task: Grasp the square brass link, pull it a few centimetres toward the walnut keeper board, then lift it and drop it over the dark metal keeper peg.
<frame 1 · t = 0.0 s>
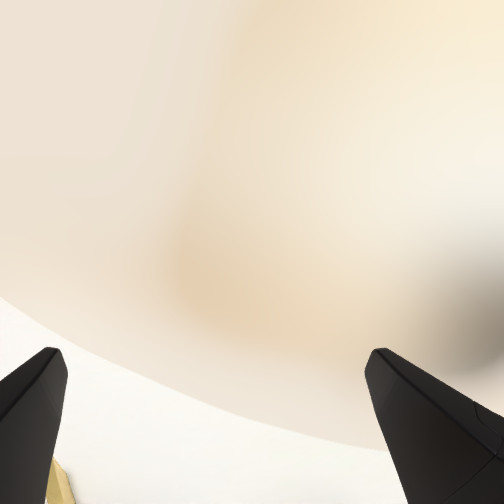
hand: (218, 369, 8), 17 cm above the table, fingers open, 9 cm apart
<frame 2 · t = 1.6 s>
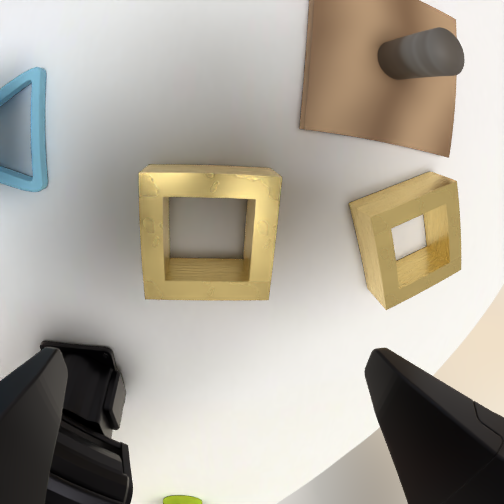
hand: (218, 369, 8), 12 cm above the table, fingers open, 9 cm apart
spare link: (400, 230, 21), on the table
link: (207, 223, 19), on the table
keeper: (386, 62, 16), on the table
soap dispenser: (182, 501, 35), on the table
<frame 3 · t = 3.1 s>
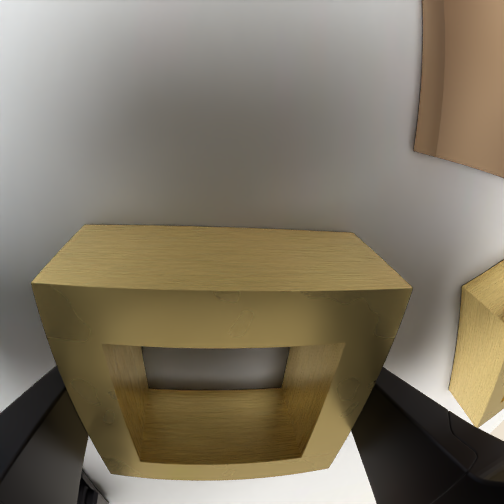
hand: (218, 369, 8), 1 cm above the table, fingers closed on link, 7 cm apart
link: (216, 340, 9), on the table, touching gripper
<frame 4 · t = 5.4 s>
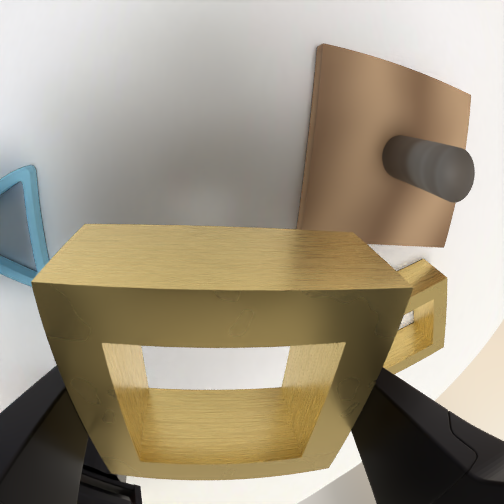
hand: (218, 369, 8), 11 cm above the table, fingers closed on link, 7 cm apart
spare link: (388, 313, 22), on the table
link: (216, 339, 9), point 9 cm above the table, touching gripper
keeper: (391, 154, 17), on the table
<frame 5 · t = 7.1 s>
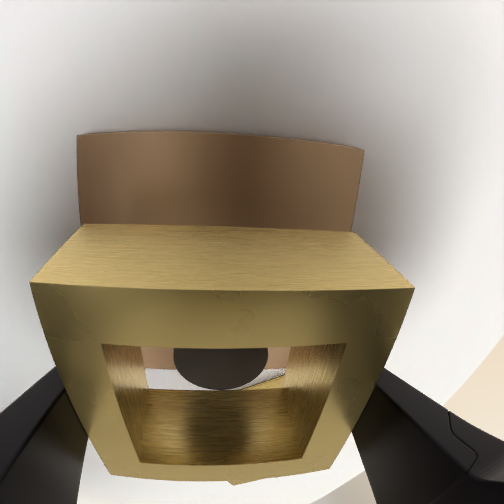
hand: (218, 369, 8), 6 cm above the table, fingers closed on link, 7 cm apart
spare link: (257, 419, 19), on the table
link: (216, 340, 9), point 5 cm above the table, touching gripper
keeper: (214, 262, 14), on the table
when the fingers open (4 cm above the table, at t = 8.1 s): link drops 2 cm, resting on keeper.
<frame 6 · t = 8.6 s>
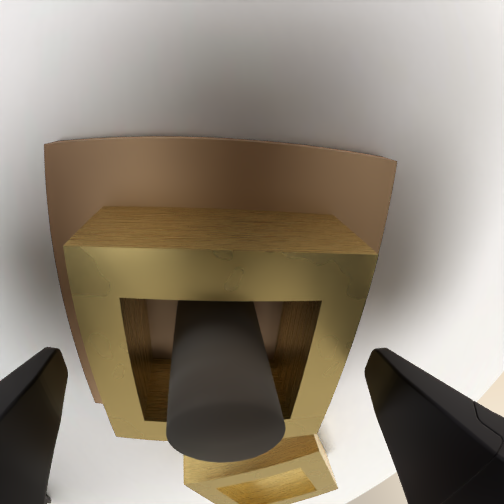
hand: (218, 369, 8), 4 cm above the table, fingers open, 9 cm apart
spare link: (262, 451, 16), on the table
link: (214, 310, 10), point 1 cm above the table, touching keeper
keeper: (214, 295, 11), on the table
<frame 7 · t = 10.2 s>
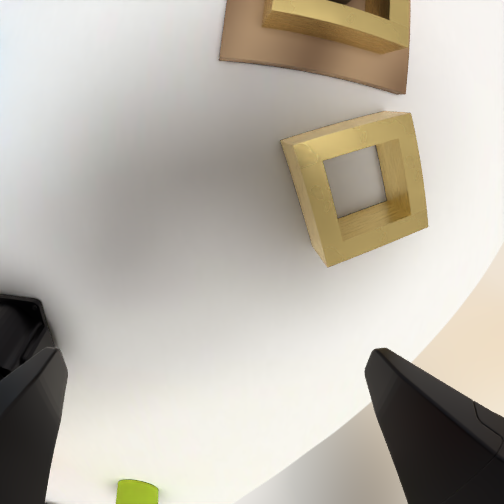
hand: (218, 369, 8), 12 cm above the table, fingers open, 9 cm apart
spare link: (349, 178, 18), on the table
soap dispenser: (138, 487, 33), on the table
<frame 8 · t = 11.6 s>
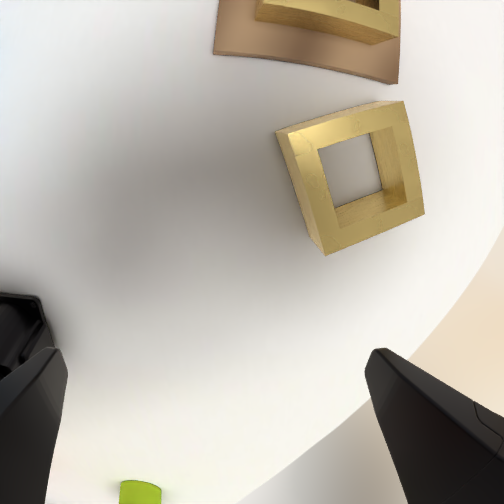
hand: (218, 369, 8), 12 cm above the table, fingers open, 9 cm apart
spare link: (344, 167, 18), on the table
soap dispenser: (141, 488, 33), on the table
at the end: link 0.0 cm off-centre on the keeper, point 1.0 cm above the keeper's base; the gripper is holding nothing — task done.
